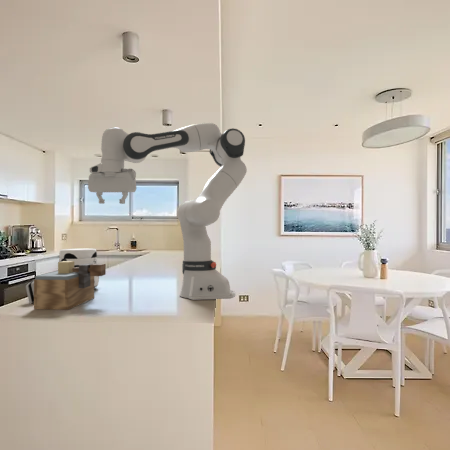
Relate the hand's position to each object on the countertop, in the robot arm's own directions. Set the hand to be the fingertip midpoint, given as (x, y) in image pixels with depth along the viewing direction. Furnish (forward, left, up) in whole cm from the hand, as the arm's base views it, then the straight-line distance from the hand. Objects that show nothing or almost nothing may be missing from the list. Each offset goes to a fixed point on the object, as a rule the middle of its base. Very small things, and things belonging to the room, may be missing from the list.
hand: (111, 203), depth 141 cm
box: (+11, +12, -37) cm, 41 cm away
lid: (+12, +12, -27) cm, 32 cm away
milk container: (+21, -15, -37) cm, 46 cm away
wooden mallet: (+4, +12, -27) cm, 30 cm away
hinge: (+24, +5, -38) cm, 45 cm away
